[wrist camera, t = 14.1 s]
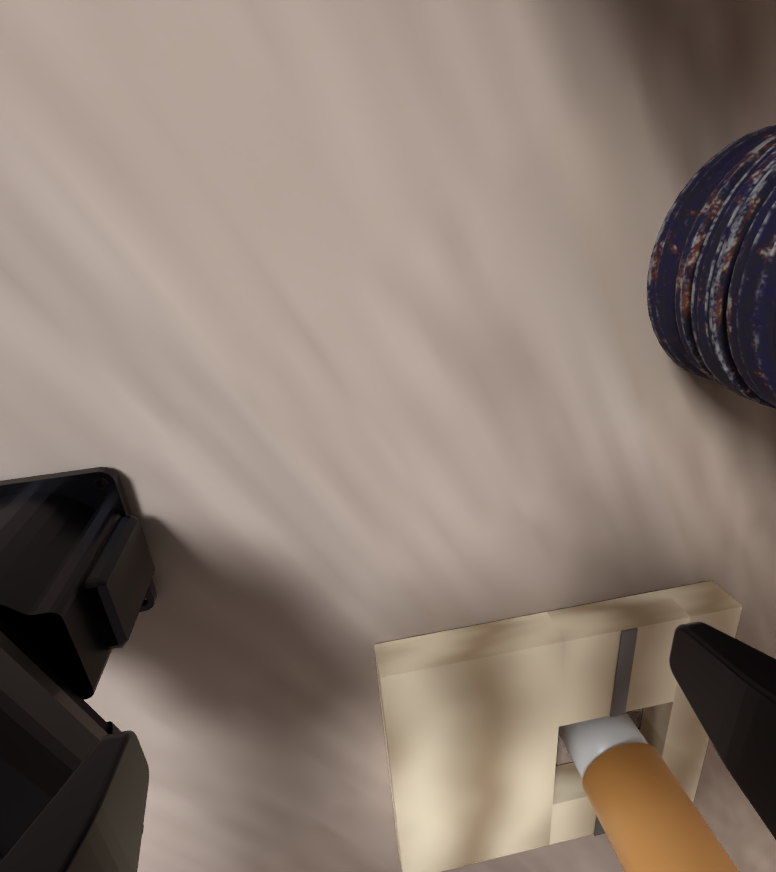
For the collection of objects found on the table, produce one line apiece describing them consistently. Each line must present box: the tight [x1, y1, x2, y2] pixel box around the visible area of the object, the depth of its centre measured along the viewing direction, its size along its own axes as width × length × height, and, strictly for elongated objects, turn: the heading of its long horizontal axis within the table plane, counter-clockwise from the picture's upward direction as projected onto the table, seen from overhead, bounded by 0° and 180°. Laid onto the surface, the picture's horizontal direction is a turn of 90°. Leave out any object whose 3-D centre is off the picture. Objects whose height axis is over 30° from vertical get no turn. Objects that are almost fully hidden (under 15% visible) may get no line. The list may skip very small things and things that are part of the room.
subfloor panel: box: [374, 580, 743, 872], centre depth 29 cm, size 18×16×2 cm
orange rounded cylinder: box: [559, 712, 739, 872], centre depth 25 cm, size 4×4×12 cm
